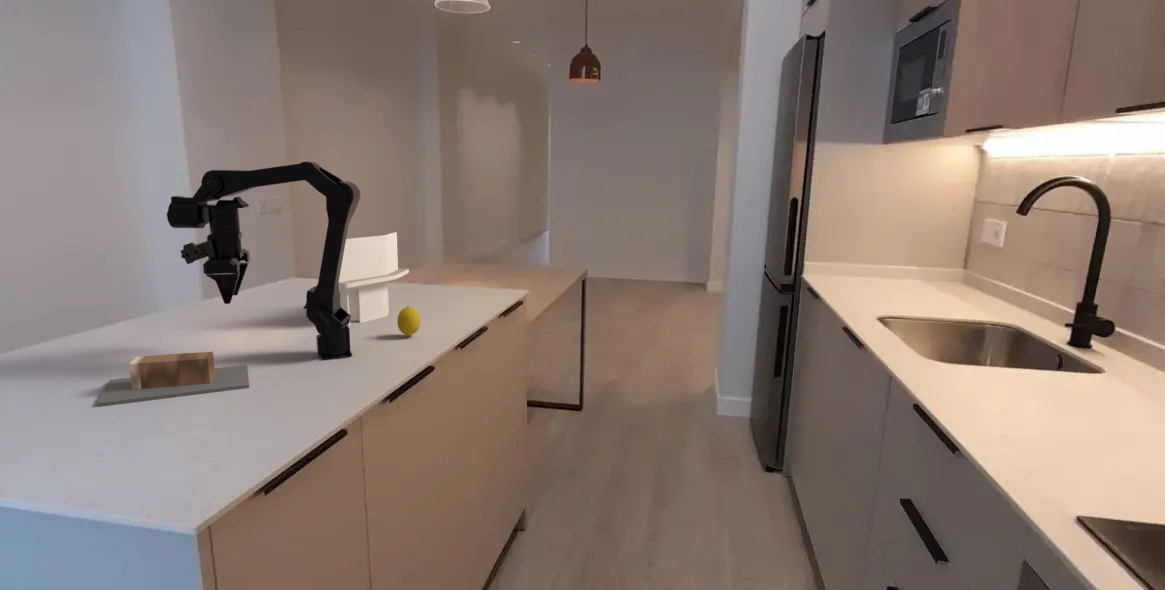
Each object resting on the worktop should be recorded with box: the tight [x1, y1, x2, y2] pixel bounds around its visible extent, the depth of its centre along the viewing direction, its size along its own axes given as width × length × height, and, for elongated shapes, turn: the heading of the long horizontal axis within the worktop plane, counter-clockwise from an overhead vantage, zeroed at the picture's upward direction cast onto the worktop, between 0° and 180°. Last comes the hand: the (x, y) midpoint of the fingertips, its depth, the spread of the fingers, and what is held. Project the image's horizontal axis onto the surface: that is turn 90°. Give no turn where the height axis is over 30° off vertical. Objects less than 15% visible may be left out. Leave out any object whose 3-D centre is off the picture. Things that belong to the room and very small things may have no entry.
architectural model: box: [338, 231, 410, 327], centre depth 183 cm, size 28×21×23 cm
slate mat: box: [96, 364, 250, 407], centre depth 127 cm, size 24×14×1 cm, turn 118°
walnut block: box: [128, 351, 216, 389], centre depth 126 cm, size 5×5×13 cm
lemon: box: [397, 305, 421, 338], centre depth 164 cm, size 6×6×8 cm
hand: (231, 299), depth 143 cm, fingers open, 9 cm apart
